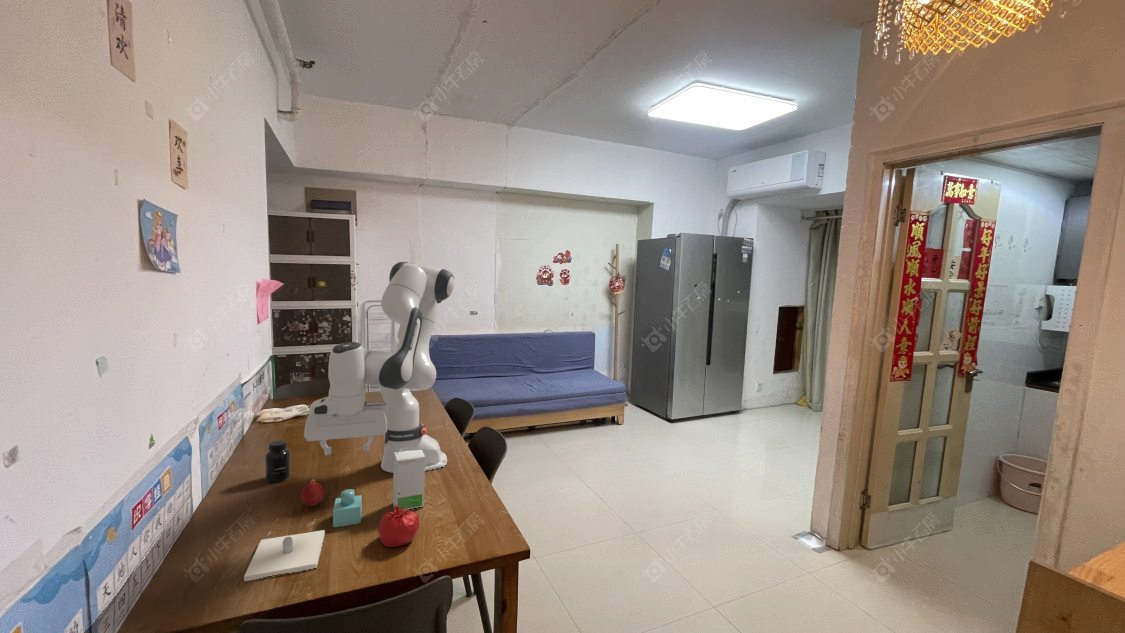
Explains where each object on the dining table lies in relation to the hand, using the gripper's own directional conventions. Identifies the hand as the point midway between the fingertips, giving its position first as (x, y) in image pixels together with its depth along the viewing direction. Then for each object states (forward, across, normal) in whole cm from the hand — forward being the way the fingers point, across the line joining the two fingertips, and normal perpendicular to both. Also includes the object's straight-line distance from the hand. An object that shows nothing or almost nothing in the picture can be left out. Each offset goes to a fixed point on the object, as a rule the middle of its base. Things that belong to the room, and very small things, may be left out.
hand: (347, 452), depth 121 cm
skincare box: (+19, -16, -3) cm, 25 cm away
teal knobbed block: (+19, 0, 0) cm, 19 cm away
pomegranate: (+19, -13, +14) cm, 27 cm away
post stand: (+19, +12, +13) cm, 26 cm away
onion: (+19, +10, -10) cm, 24 cm away
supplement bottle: (+19, +23, -32) cm, 44 cm away
